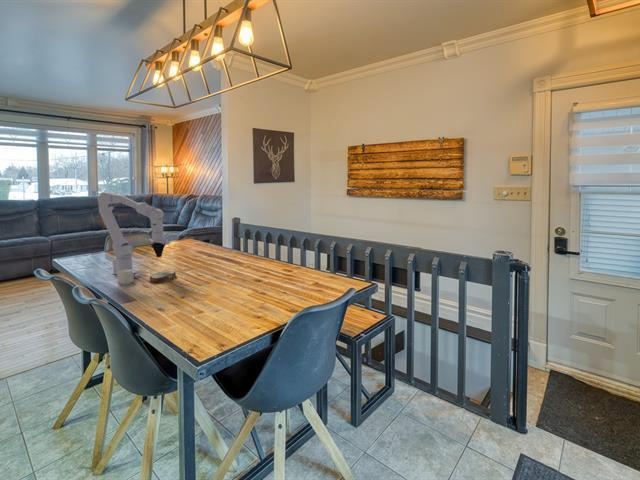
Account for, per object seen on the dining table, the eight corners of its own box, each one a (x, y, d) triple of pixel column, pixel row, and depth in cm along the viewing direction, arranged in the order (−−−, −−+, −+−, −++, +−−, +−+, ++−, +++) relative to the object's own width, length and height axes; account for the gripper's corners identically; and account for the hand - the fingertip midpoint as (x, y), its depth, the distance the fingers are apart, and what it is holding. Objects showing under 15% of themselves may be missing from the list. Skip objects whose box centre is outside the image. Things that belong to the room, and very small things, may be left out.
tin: (146, 282, 177) (161, 284, 176) (146, 276, 177) (161, 278, 175) (165, 274, 192) (179, 276, 190) (165, 269, 191) (179, 271, 190)
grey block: (117, 283, 176) (116, 271, 175) (127, 280, 181) (126, 268, 180) (124, 284, 174) (123, 272, 173) (133, 281, 179) (133, 270, 178)
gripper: (141, 231, 189) (143, 256, 191) (161, 233, 183) (162, 259, 185) (152, 230, 196) (154, 254, 198) (172, 231, 190) (173, 257, 192)
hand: (159, 256), depth 192 cm, fingers closed
